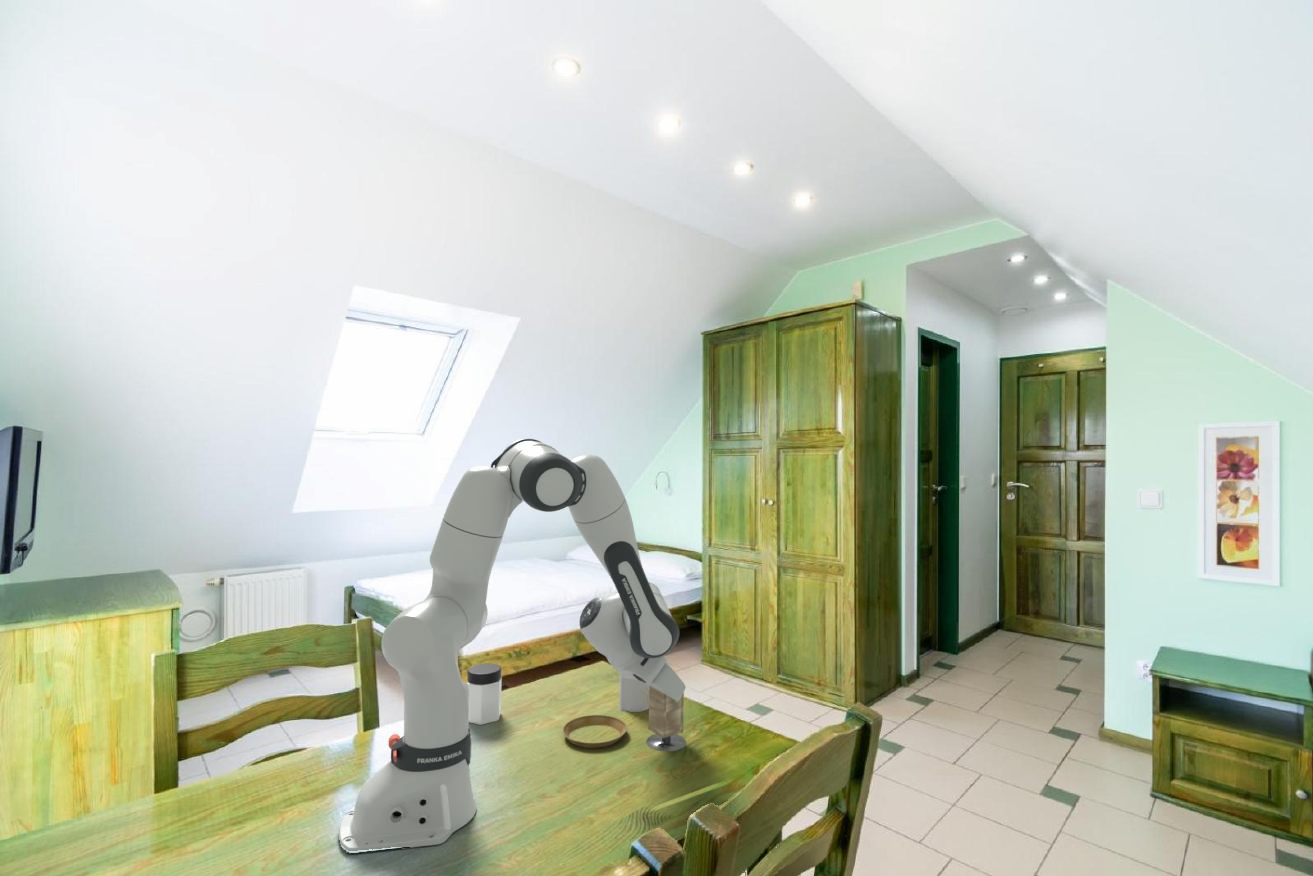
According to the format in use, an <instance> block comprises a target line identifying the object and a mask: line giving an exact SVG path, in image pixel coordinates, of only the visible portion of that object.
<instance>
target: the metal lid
mask: <svg viewBox="0 0 1313 876" xmlns="http://www.w3.org/2000/svg"><path fill="white" fill-rule="evenodd" d="M645 742H646V745H647V746H648V747H649V748H650V749H653V750H654V751H660V752H675V751H678V750H681V749H683V748H685V746H686V744H687V740H686V738H684V737H683V736H682V735H680V734H676V735H673V736H669V737H666V738H661V737H660V736H658V735H657V734H655V733H654V734H652V735H650V736H649V737H648V738H646V741H645Z"/></svg>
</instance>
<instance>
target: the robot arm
mask: <svg viewBox="0 0 1313 876" xmlns="http://www.w3.org/2000/svg"><path fill="white" fill-rule="evenodd" d="M523 502H524V503H525V504H527V505H528V506H529V507H531V508H532V509H535V510H537V511H540V512H545V513H546V512H547V513H548V512H549V513H550V512H551V513H552V512H557V511H560V510H563V509H565V508H568V509H569V512H570V514H571V516H572V519H573V521H574V523H575V525H576V527H577V529H578V531H579V533H580V534H581V536H582V537H583V539H584V541H585V542H586V544H587V545H588V546H589V548H590V550H591V551H592V552H593V553H594V555H595V557H596V558H597V559H598V561H599V563H601V565H602V566H603V568H604V570H605V572H607V573H608V576H609V577H610V579H611V581H612V582H613V584H614V587H615V589H616V591H617V593H615V594H612V595H609V596H597V597H595V598H593V599H591V600H590V601H589V602H588V603H587V604H586V605H585V606H584V608H583V609H582V612H581V613H580V617H579V628H580V631H581V633H582V634H583V636H584V638H585V639H586V640H587V642H588V643H589V644H590V645H591V646H592V647H593V648H594V649H595V650H596V651H597V652H598V653H599V654H601V655H603V656H605V657H606V659H607V661H608V663H609V664H610V665H611V666H612V667H613V668H614V669H615V670H616V671H617V672H618V673H619V675H620V674H621V675H622V676H623V677H624V678H627V679H634V680H639V681H642V682H644V683H646V684H647V685H649V686H651V687H653V688H654V689H656V690H658V691H660V692H661V693H663V694H665V695H666V696H668V697H670V698H672V699H673V700H674V701H676V702H678V701H679V700H680V698H681V695H682V694H683V692H684V693H685V690H686V685H685V683H684V681H683V680H682V678H680V676H679V675H678V674H677V673H676V671H675V670H674V669H673V668H672V667H671V666H670V665H669V664H668V662H667V661H668V659H667V658H666V656H665V655H667V654H668V653H670V652H671V651H672V650H673V648H674V647H675V646H676V645H677V642H678V640H679V637H680V628H679V625H678V624H677V622H676V620H675V619H674V617H673V616H672V613H671V612H670V610H669V609H670V608H669V607H668V605H667V603H666V601H665V598H664V597H663V594H662V592H661V591H660V589H659V587H658V586H657V585H655V584H654V583H652V582H649V581H648V577H647V576H646V574H645V570H644V568H643V565H642V564H643V563H642V561H641V556H640V552H639V546H638V542H637V538H636V532H635V527H634V522H633V517H632V515H631V511H630V508H629V504H628V502H627V499H626V497H625V494H624V493H623V490H622V488H621V486H620V484H619V482H618V480H617V478H616V477H615V474H614V473H613V471H612V470H611V468H610V467H609V466H608V464H607V462H606V461H604V459H602V457H599V456H598V455H595V454H583V455H581V456H577V457H575V458H573V459H569V458H568V457H566V456H564V455H562V454H561V453H560V452H559V451H558V450H557V449H556V448H555V447H552V446H551V445H548V444H546V443H544V442H542V441H541V440H537V439H534V438H522V439H517V440H516V441H513V442H512V443H510V444H509V445H508V446H507V447H506V448H505V449H504V450H503V451H502V453H500V455H498V457H497V458H495V459H494V460H493V461H492V463H491V464H490V466H485V465H483V466H475V467H472V468H470V469H468V470H466V471H465V473H464V474H463V475H462V477H461V479H460V480H459V482H458V483H457V485H456V488H455V489H454V491H453V493H452V495H451V497H450V499H449V502H448V504H447V507H446V509H445V512H444V514H443V518H442V520H441V523H440V526H439V528H438V532H437V534H436V537H435V540H434V544H433V547H432V550H431V552H430V556H429V563H430V565H431V568H432V581H431V587H430V591H429V593H428V595H427V596H426V597H425V598H424V599H423V600H422V601H419V602H417V603H415V604H413V605H411V606H408V607H407V608H405V609H404V610H402V611H400V613H399V614H398V615H396V616H395V618H394V619H392V620H391V621H390V623H388V624H387V626H386V627H385V629H384V631H383V634H382V637H381V642H380V643H381V651H382V654H383V657H384V659H385V661H386V662H387V663H388V665H389V666H390V667H392V668H393V669H394V670H396V672H397V674H398V677H399V680H400V684H401V688H402V693H403V701H404V702H403V703H404V706H403V708H404V709H403V713H404V714H403V715H404V716H403V717H404V718H403V736H400V735H399V734H396V733H394V734H392V735H390V737H389V738H388V740H387V741H388V747H389V749H390V761H388V762H387V763H386V764H385V765H384V766H383V767H381V768H380V769H379V770H378V771H377V772H375V773H374V774H372V775H371V776H370V777H369V778H367V779H366V780H365V782H364V783H363V784H362V786H361V787H360V790H359V792H358V794H357V797H356V801H355V805H354V806H352V807H351V808H350V809H349V810H348V811H347V812H346V813H345V814H344V816H343V818H342V819H341V822H340V825H339V829H338V830H339V831H338V840H339V839H340V842H341V845H342V846H343V847H344V848H345V849H346V850H348V851H358V850H369V849H372V850H373V849H382V848H391V847H410V848H418V847H426V846H436V845H441V844H443V843H445V841H447V840H448V839H449V838H450V837H451V835H452V834H453V833H455V832H456V831H457V830H459V829H461V828H462V827H464V826H465V825H467V824H468V823H469V822H470V821H471V820H472V819H473V818H474V816H475V814H476V811H477V803H476V801H475V797H474V793H473V788H472V781H471V780H472V779H471V774H470V764H471V758H472V734H471V733H472V732H471V729H470V728H469V726H470V724H469V723H470V722H469V688H468V686H467V682H465V681H464V680H463V679H462V676H461V672H460V669H459V667H460V666H459V661H458V660H459V659H458V657H459V652H460V650H461V649H463V648H464V647H466V646H468V645H469V644H470V643H472V642H473V641H474V640H475V639H476V638H477V637H478V636H479V634H480V633H481V631H482V630H483V628H484V626H485V624H486V622H487V619H488V614H489V613H488V612H489V611H488V606H487V597H488V589H489V581H490V577H491V574H492V570H493V566H494V563H495V560H496V558H497V555H498V552H499V549H500V546H501V543H502V540H503V537H504V535H505V534H504V533H505V530H506V528H507V525H508V520H509V518H510V517H511V516H512V514H513V512H514V511H515V509H516V508H517V507H518V506H519V505H520V504H521V503H523ZM348 815H352V816H348ZM347 841H348V842H347Z"/></svg>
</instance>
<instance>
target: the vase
mask: <svg viewBox="0 0 1313 876" xmlns="http://www.w3.org/2000/svg"><path fill="white" fill-rule="evenodd" d="M684 699H685V691H684V692H683V694H682V695H681V698H680V700H679V701H678V702H676V701H674V700H673V699H672V698H670V697H668V696H666V695H665V694H663V693H661V692H660V691H658V690H656V689H654V688H653V687H651V686H649V709H648V730H649V731H651V732H653V733H654V735H655V734H657V735H658V736H660V737H661V738H666V737H669V736H673V735H676V734H677V735H680V734H682V733H683V734H684V708H685V707H684V703H685V700H684Z"/></svg>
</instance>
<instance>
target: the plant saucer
mask: <svg viewBox="0 0 1313 876" xmlns="http://www.w3.org/2000/svg"><path fill="white" fill-rule="evenodd" d="M598 725H599V726H606V727H610V728H612V729H615V730H616V731H618V732H619V734H620V735H619V736H617V737H616V738H613V739H610V740H607V741H600V742H599V741H598V742H586V741H584V742H583V741H579V740H575V739H573V738H571V737H570V734H571V733H572V732H573V731H575V730H576V729H577V730H578V729H579V728H582V727H588V726H598ZM627 729H628V726H627V724H626V722H625V721H623V720H621V719H620V718H618V717H615V716H611V715H606V714H605V715H604V714H591V715H583V716H580V717H575V718H573V719H571V720H569V721H567V722H566V723H565V724H564V725H563V727H562V734H563V736H564V737H565V738H566V739H567V740H568V741H569V742H570V743H571V744H573V745H574V746H577V747H581V748H589V749H598V748H605V747H609V746H612V745H615V743H617V742H619V741H620V740H621V739H622V737H623V736H624V735H625V734H626V732H627Z"/></svg>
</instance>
